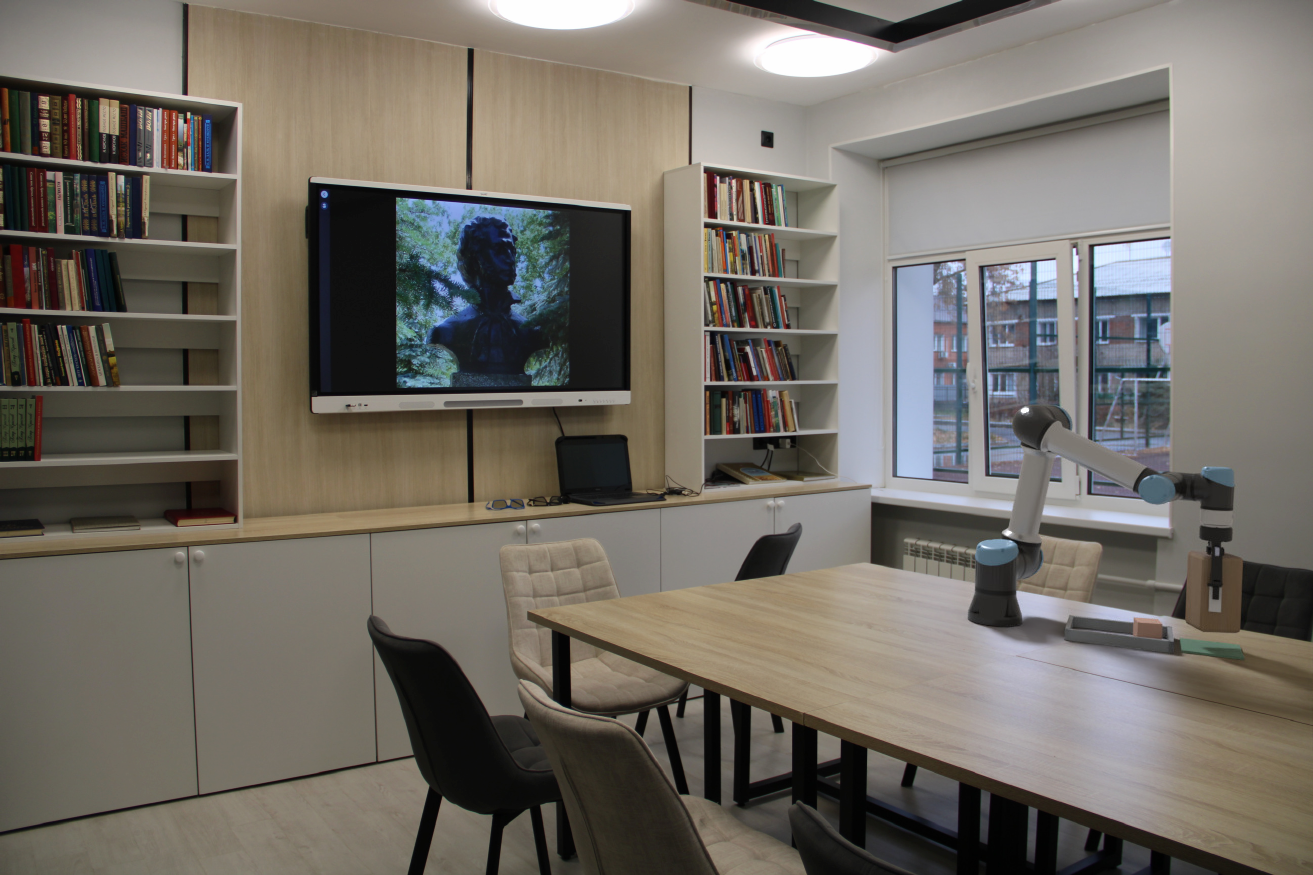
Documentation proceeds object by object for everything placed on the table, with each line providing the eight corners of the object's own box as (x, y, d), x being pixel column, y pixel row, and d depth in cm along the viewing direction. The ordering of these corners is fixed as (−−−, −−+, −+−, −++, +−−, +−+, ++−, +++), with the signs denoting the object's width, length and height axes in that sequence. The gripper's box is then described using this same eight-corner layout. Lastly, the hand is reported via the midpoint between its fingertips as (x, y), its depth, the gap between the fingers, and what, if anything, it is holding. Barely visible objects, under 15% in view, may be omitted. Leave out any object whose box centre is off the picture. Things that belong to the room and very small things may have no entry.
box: (1136, 644, 254) (1137, 622, 253) (1132, 638, 259) (1133, 617, 259) (1161, 646, 252) (1162, 624, 251) (1157, 640, 258) (1157, 619, 257)
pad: (1181, 652, 246) (1181, 650, 246) (1179, 639, 258) (1179, 637, 258) (1244, 659, 239) (1244, 657, 239) (1239, 646, 252) (1239, 644, 252)
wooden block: (1222, 624, 253) (1225, 551, 252) (1241, 634, 243) (1244, 557, 242) (1183, 623, 254) (1186, 550, 253) (1201, 632, 244) (1204, 556, 243)
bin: (1064, 639, 257) (1064, 629, 257) (1068, 625, 273) (1069, 615, 273) (1173, 653, 245) (1174, 641, 245) (1171, 637, 261) (1172, 626, 261)
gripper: (1237, 532, 235) (1233, 617, 236) (1228, 521, 256) (1225, 599, 257) (1202, 530, 238) (1199, 614, 239) (1197, 519, 259) (1194, 596, 260)
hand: (1213, 606), depth 248 cm, fingers closed on wooden block, 12 cm apart
